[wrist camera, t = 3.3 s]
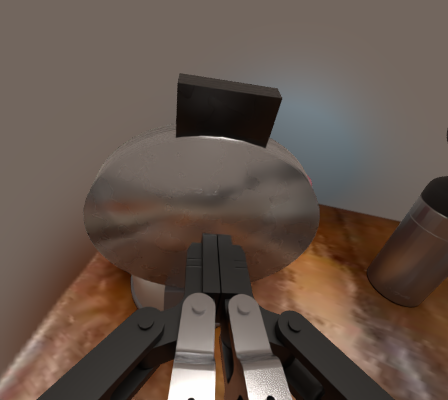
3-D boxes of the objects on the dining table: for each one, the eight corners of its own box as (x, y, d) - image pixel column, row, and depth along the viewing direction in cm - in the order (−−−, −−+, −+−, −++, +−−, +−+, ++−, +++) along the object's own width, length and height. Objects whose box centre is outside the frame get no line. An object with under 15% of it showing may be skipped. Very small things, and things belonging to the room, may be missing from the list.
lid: (49, 49, 12) (28, 63, 10) (377, 101, 14) (396, 118, 13) (111, 267, 25) (105, 285, 24) (273, 274, 28) (277, 291, 26)
